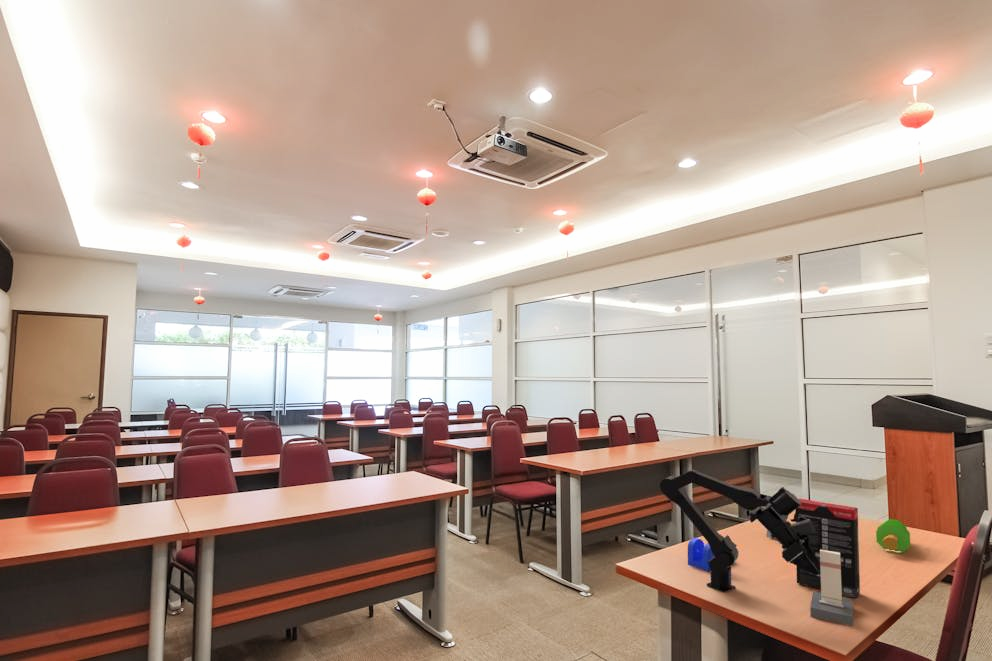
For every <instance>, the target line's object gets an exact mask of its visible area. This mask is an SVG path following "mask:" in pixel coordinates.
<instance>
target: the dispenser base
mask: <svg viewBox="0 0 992 661" xmlns="http://www.w3.org/2000/svg"><path fill="white" fill-rule="evenodd" d="M853 605H854V604H853V598H846V597H843V596H842V605H841V604H836V603H831V602H827V601H822V600H821V592H818V591H814V590H813V591H812V596H811V601H810V608H809V609H810V613H809V614H810V617H812V618H816V619H820V620H825V621H829V622H833V623H837V624H842V625H845V626H851V627H853V626H854V620H853V619H854V612H853V610H854V608H853V607H854V606H853Z"/></svg>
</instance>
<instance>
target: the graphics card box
mask: <svg viewBox="0 0 992 661" xmlns="http://www.w3.org/2000/svg"><path fill="white" fill-rule="evenodd" d="M798 500H799V501H800V502H801V505H800V506H799V507H798V508H797V509H795V510H796V522H798V518H799V517H801V516H804V517H805V518H807V519H810V520H811V521H812V524H813V526H814V528H815V532H814V533H811V534H809V533H808V537H809V546H810V548H811V549H812V551H813V552H814V554H815V555H816V557H817V558H818V560H819V561H820V549H821V550H827V551H833V552H839V553H840V562H841V590H842V596H845V597H849V598H851V599H858V597H859V595H860V593H861V587H860V586H861V583H860V582H861V581H860V580H861V579H860V551H859V550H860V548H859V546H860V545H859V544H860V543H859V514H858V513H859V509H858V507H854V506H848V505H842V504H837V503H836V504H835V503H831V502H825V501H823V502H822V501H818V500H817V501H816V500H810V499H805V498H804V499H803V498H798ZM796 522H795V523H796ZM808 537H807V538H808ZM807 538H804V540H805V539H807ZM813 565H814V566H815V567H816V569H817V570H818V571H819V574H818V575H815V574H813V573H811V572H809V571H807V570H805V569H803V568H801V567H799V566H797V565H795V566H796V583H797V584H800V585H804V586H806V587H807V586H808V587H810V588H814V589H818V590H821V572H820V566H817V565H815V564H813Z"/></svg>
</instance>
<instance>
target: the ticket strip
mask: <svg viewBox="0 0 992 661" xmlns="http://www.w3.org/2000/svg"><path fill="white" fill-rule="evenodd" d="M820 572H821V589H820V593H821V600H822V601H827V602H831V603H836V604H841V605H842V597H843V595H842V590H841V562H840V553H839V552H833V551H827V550H821V549H820Z"/></svg>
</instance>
